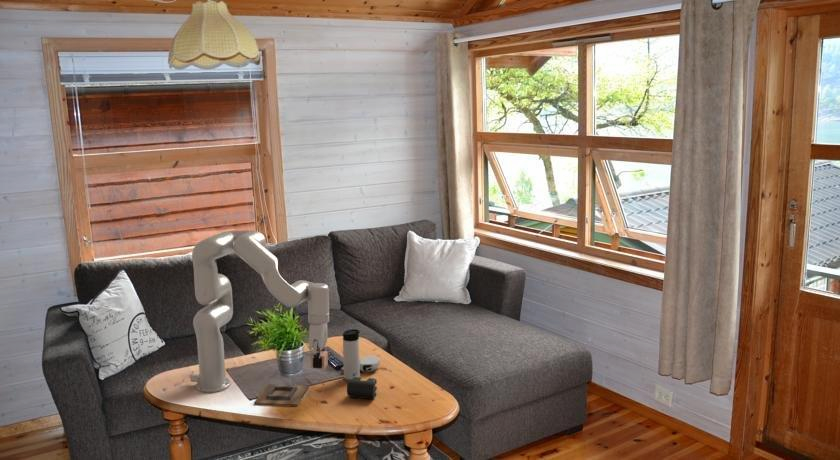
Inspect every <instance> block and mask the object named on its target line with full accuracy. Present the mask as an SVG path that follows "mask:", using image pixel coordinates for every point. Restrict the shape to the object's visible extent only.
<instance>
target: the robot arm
mask: <svg viewBox="0 0 840 460" xmlns="http://www.w3.org/2000/svg"><path fill="white" fill-rule="evenodd" d="M266 239H267V238H266V237H265V235H263V234H262V233H261V232H260V231H257V230H253V229H252V230H226V231H222V232H220V233H217V234H213V235H211V236H208V237H205V239H204V238H203V239H202V240H201V241H199V242H197V243H196V245H194V247H193V249H192V254H191V256H192V257H191V260H192V267H193V279H194V283H193V284H194V293H195V294H194V295H195V298H196V301H197V302H198V304H200V305H202V306H203V305H204V307H203V308H200V310H198V311H197V313H196V314H195V315H194V317H193V321H192V325H193V329H194V332H195V336H196V344H197V345H196V346H197V358H198V373H199V374H190V377H189V380H190V382H192V383H193V382H196V385H195V389H196V390H197V391H198V392H200V393H204V394H205V393H208V394H210V393H211V394H212V393H217V392H222V391H224V390H227V389H228V388H229V387H230V385H231V381H230V378H227V377H226V360H225V349H224V348H225V345H224V338H223V335H222V334H221V331H220V328H222V327H223V326H224V325H226V324H228V323H229V322H230V321H231V320H232V318H233V314H234V303H233V288H232V283H231V281H230V279H229V278H228V277H227V276H226V275H224V274H222V273H218V270H219V269H218V266H217V262H216V261H215V260H218V259H221V258H222V257H225V256H227V255H230V254H236V255H237V256H238V257H239V258H240V259H242V261H244V262H245V263H246V264H247V265H248V266H250V267H251V268H252V269H253V270H254V271H256V273H258V274H259V275H260V276H261V278H262V281H263V283H264V285H265V287H266V289H267V290H268V291H269V293H270V294H271V296H273V297H274V298H275V299H276V300H277V301H279V302H280V303H281V304H282V305H284V306H285V307H289V308H296V307H298V306H300V305H301V304H302V303H304V302H306V301H307V315H308V316H307V318H308V320H307V321H308V323H309V328H308V330H309V331H308V350H309V351H311V350H312V353H313V368H322V357H321V351H327V349H326V344H327V342H328V323H330V288H329V286H328V284H327V283H324V282H323V283H322V282H311V281H308V280H305V279H304V280H303V279H301V280H296V281H295V282H293V283H292V284H290V283H288V282H287V281H286V280H285V279H284V278H283V277H282V275H281V274H280V272H279V268H278V266H279V259H278V257H276V255H274V254H273V253H272V252H271V251H270V250H269V249H268V248H267V247H266V245H267V240H266ZM317 351H319V353H317Z"/></svg>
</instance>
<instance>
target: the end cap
mask: <svg viewBox="0 0 840 460" xmlns="http://www.w3.org/2000/svg"><path fill="white" fill-rule="evenodd" d="M361 379H362V377H361V376H360V377H354V378H353V379H352V380H349V381H347V385H346V394H347V396H349V398H360V399H371V400H374V399H375V398H376V396H377V392H376V391H377V389H378V386H376V385H377V383H378V381H377V378H370V377H369V378H368V379H367V380H361Z"/></svg>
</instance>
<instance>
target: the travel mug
mask: <svg viewBox="0 0 840 460" xmlns="http://www.w3.org/2000/svg"><path fill="white" fill-rule="evenodd" d="M360 332H361V331H360V330H359V329H348V330H347V329H346V330H345V331H344V332H342V346H343V347H342V350H343V352H342V353H343V355H342V356H343V363H344V365H343V367H344V370H343V379H344V381H346V382H348V381H349V380H352V379H353V378H354V377H360V378H361V372H360V371H361V370H360V363H359V359H360Z"/></svg>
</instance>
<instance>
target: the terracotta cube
mask: <svg viewBox="0 0 840 460" xmlns="http://www.w3.org/2000/svg"><path fill="white" fill-rule="evenodd" d="M317 353H319V351H317ZM321 357H322V368H313V352H312V353H311V354H310V369H314V370H325V369H326V368H327V366H328V365H329V361H328V360H329V358H328V357H329V355H328V351H327V350H325V351H321Z"/></svg>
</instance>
